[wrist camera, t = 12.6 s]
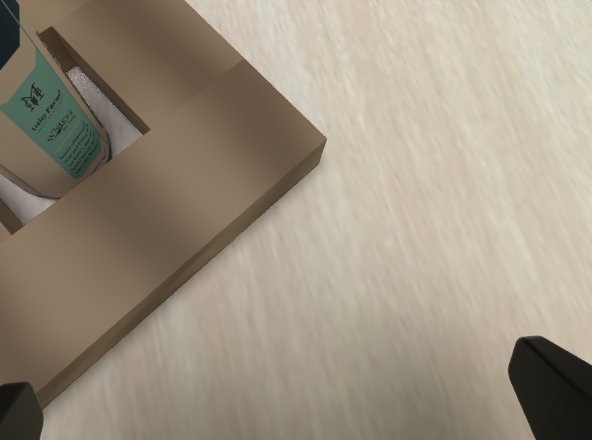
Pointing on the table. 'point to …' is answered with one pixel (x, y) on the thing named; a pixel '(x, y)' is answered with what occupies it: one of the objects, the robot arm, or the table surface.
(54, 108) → the beer can
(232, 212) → the holder block
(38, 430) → the robot arm
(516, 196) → the table surface
